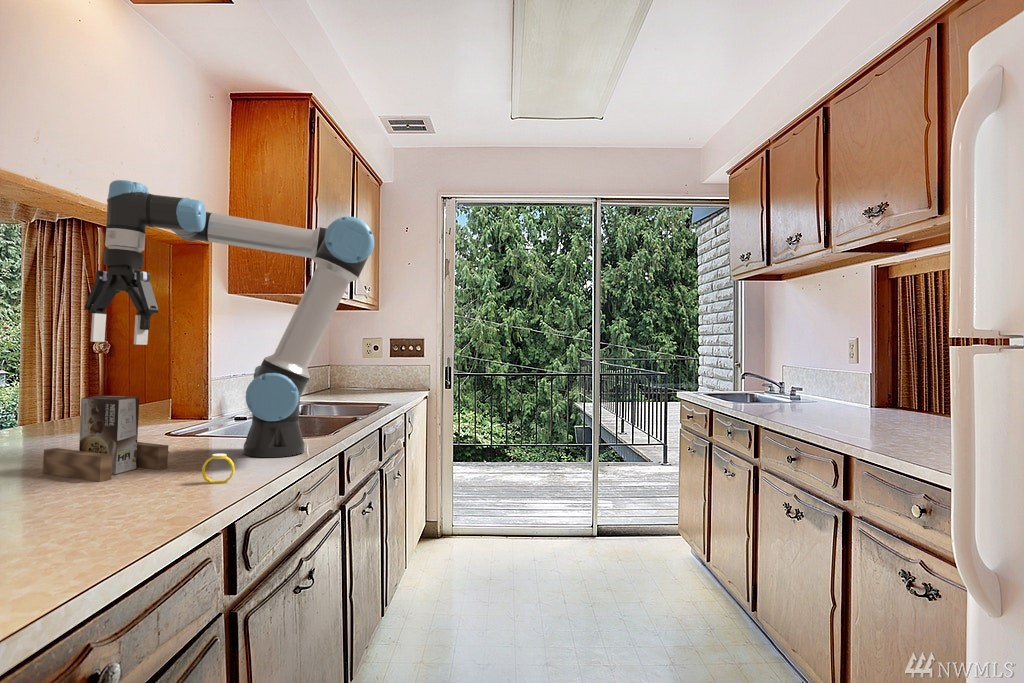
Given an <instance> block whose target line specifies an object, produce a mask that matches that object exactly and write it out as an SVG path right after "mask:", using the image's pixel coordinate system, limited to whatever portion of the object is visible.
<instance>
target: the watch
mask: <svg viewBox="0 0 1024 683" xmlns="http://www.w3.org/2000/svg"><path fill="white" fill-rule="evenodd" d="M212 460H225V461H227V462H228V463H229V465H230V467H231V472H230V475H229V477H227V478H226V479H223V480H219V479H217V480H212V479H211V478H209V477H208V475H207V474H206V467H207V465H208V463H209V462H210V461H212ZM235 470H236V469H235V463H234V462H233V460H232V459H231V458H230V457H228V456H227V453H213V454H211V457H208V459H206V460H205V462H204V463H203V465H202V468H201V475H202V478H203V480H205V481H206V482H207V483H208V484H226V483H227V482H228V481H230V480H231V479H232V477H233V476H234V473H235Z"/></svg>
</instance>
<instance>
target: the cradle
mask: <svg viewBox="0 0 1024 683" xmlns="http://www.w3.org/2000/svg"><path fill="white" fill-rule="evenodd" d="M112 456H113V455H109V454H101V453H93V452H85V451H79V450H75V449H69V448H62V447H61V448H60V447H54V448H53V447H52V448H46V449H43V458H42V459H43V462H42V474H44V475H51V476H56V477H63V478H64V477H65V478H70V479H79V480H84V481H85V480H86V481H92V482H98V483H99V482H106V481H110V480H112V475H113V474H112ZM168 460H169V445H168V444H162V443H160V444H158V443H150V442H141V441H137V460H136V468H137V467H138V468H144V469H145V468H146V469H153V470H161V469H166V468H168V465H169V463H168V462H169V461H168Z"/></svg>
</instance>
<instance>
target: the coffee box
mask: <svg viewBox="0 0 1024 683" xmlns="http://www.w3.org/2000/svg"><path fill="white" fill-rule="evenodd" d="M139 412H140V396H124V395H123V396H121V395H96V396H89V397H81V398H80V417H79V419H80V420H79V422H80V423H79V424H80V425H79V444H78V445H79V446H78V448H79V449H78V451H85V452H93V453H101V454H109V455H113V456H112V475H113V474H114V475H117V474H121V473H124V472H129V471H132V470H136V469H137V467H136V460H137V442H138V436H139V435H138V434H139V432H138V431H139Z"/></svg>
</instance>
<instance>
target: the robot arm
mask: <svg viewBox="0 0 1024 683" xmlns="http://www.w3.org/2000/svg"><path fill="white" fill-rule="evenodd" d="M106 203H107V206H106V228H105V230H106V231H105V243H104V246H105V247H106V249H105V250H104V251H103V254H104V255H103V264H104V265H105V266H106V267H108V268H107V269H108V270H107V271H105V270H100V269H99V270H97V271H96V275H95V280H94V283H93V285H92V288H91V290H90V293H89V295H88V297H87V299H86V302H85V305H84V310H85V311H89V313H90V314H91V318H90V319H91V320H90V326H91V329H90V330H91V331H90V342H94V343H95V342H96V343H105V341H106V323H107V312H106V309H107V308H108V307H109V305H110V304H111V302H112V300H113V299H114V298H115V296H116V295H117V294H118V293H120V292H125V293H127V295H128V296H129V298H130V300H131V303H132V304H133V306H134V308H135V309H136V311H137V312H136V313H135V320H134V331H133V332H134V333H133V345H144V346H145V345H148V340H149V330H150V326H151V317H152V316H153V314H158V313H159V307H158V304H157V301H156V300H157V299H156V296H155V293H154V290H153V287H152V283H151V273H150V272H149V271H141V270H142V269H143V268H144V259H145V256H144V253H143V252H144V251H145V247H146V228H147V227H150V228H157V229H158V228H159V229H166V230H171V231H172V232H173V233H175V234H176V235H177V237H179V238H180V239H182V240H185V241H189V242H197V241H200V242H209V243H214V244H215V243H216V244H221V245H222V244H223V245H228V246H233V247H234V246H235V247H238V248H239V247H241V248H246V249H253V250H257V251H258V250H260V251H266V252H272V253H278V254H282V255H283V254H284V255H291V256H297V257H303V258H308V259H311V260H312V262H314V263H315V265H316V269H315V270H314V272H313V274H312V277H311V278H310V279H309V282H308V284H307V287H306V288H305V291H304V292H303V294H302V297H301V299H300V300H299V302H298V305H297V307H296V309H295V310H294V312H293V315H292V316H291V318H290V321H289V322H288V325H287V326H286V329H285V331H284V333H283V335H282V337H281V339H280V341H279V342H278V345H277V347H276V348H275V351H274V353H272V354H271V355H268V356H265V357H264V358H263V360H262V362H261V364H260V365H258V366H255V369H254V373H253V379H252V380H251V381H250V382H249V384H248V386H247V388H246V390H245V391H246V392H245V404H246V406H247V408H248V410H249V411H250V412H251V425H250V428H249V431H248V433H247V436H246V439H245V442H244V443H243V450H242V453H243V455H246V456H248V457H255V458H256V457H257V458H286V457H292V455H293V456H297V455H296V454H298V455H301V454H304V452H305V442H304V438H303V433H302V430H301V427H300V403H301V397H302V395H303V392H304V391H305V388H306V387H307V384H308V382H309V381H310V378H311V375H310V373H309V370H308V369H309V365H310V364H311V362H312V360H313V358H314V356H315V353H316V352H317V350H318V347H319V345H320V343H321V341H322V339H323V337H324V335H325V333H326V331H327V329H328V327H329V325H330V322H331V321H332V319H333V317H334V314H335V313H336V310H337V308H338V306H339V305H340V302H341V301H342V299H343V296H344V294H345V291H346V290H347V288H348V286H349V284H350V283H351V282H353V281H358V279H359V277H360V275H361V273H362V271H363V269H364V267H365V266H366V263H367V261H368V259H369V257H370V256H371V255H372V254H373V251H374V248H375V237H374V234H373V231H372V228H370V226H369V225H368V224H367V223H366V222H365V221H363V220H361V219H360V218H358V217H356V216H355V217H354V216H342V217H339V218H337V219H335V220H333V221H332V222H331V223H330V224H329V225H328V226H327V227H326V228H325V227H321V226H318V227H317V228H315V229H309V228H304V227H303V228H302V227H297V226H291V225H286V224H280V223H275V222H269V221H268V222H267V221H264V220H263V221H262V220H258V219H257V220H256V219H251V218H245V217H239V216H234V215H227V214H221V213H215V212H209V211H207V209H206V206H205V205H206V204H205V203H204V202H203V201H202V200H199V199H194V198H193V199H192V198H190V197H179V196H170V195H169V196H167V195H160V194H159V195H158V194H153V193H149V188H148V187H147V186H146V185H145V184H143V183H140V182H137V181H131V180H125V179H124V180H123V179H116V180H113V181H111V182H110V184H109V189H108V194H107V199H106ZM300 453H301V454H300ZM285 456H286V457H285Z"/></svg>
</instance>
